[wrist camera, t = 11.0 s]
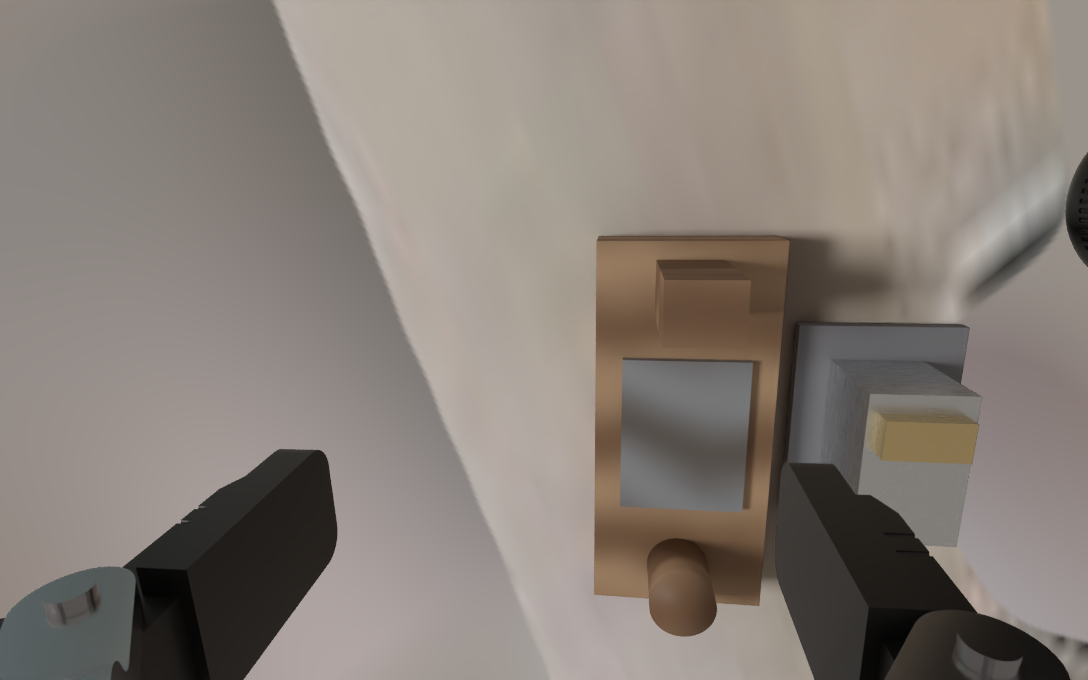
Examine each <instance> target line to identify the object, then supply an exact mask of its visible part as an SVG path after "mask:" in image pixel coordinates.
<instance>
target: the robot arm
mask: <svg viewBox="0 0 1088 680" xmlns="http://www.w3.org/2000/svg"><path fill="white" fill-rule="evenodd" d="M336 541H337V522H336V514H335V507H334V500H333V493H332V486H331V479H330V471H329V464H328V460H327V457H326V455H325V454H324V453H323V452H322V451H320V450H295V449H279V450H277V451H276V452H274V453H273V454H272V455H270V456H269V457H268V458H267V459H266V460H265V461H263V462H262V463H261V464H260V465H259V466H257V467H256V468H255V469H254V470H252V471H251V472H250V473H249V474H248V475H246V476H245V477H243V478H241V479H239V480H237V481H235V482H233V483H231V484H229V485H227V486H225V487H223V488H221V489H219V490H218V491H216V492H215V493H214V494H213V495H211V496H210V497H209V498H208V499H206V500H205V501H204V502H203V503H202V504H200V505H199V508H198V509H194V510H193V511H192V512H190V513H189V514H188V515H187V516H185V517H184V518H183V519H182V520H181V524H176V525H175V526H173V527H172V528H171V529H169V530H168V531H167V532H166V533H164V534H163V535H162V536H161V537H160V538H158V539H157V540H156V541H155V542H153V543H152V544H151V545H150V546H148V547H147V548H146V549H145V550H143V551H142V552H141V553H140V554H138V555H137V556H136V557H135V558H134V559H132V560H131V561H130V562H128V563H127V564H126V565H125V566H124V567H122V568H121V567H98V568H92V569H87V570H83V571H79V572H76V573H73V574H70V575H67V576H64V577H61V578H59V579H56V580H54V581H52V582H50V583H48V584H46V585H44V586H42V587H40V588H38V589H36V590H35V591H33V592H32V593H30V594H28V595H27V596H26V597H24V598H23V599H22V600H20V601H19V602H18V603H17V604H16V605H15V606H14V607H13V608H12V609H11V610H10V611H9V612H8V614H7V615H6V617H5V618H3V619H0V680H243V679H244V678H245V677H246V675H247V674H248V673H249V671H250V670H251V668H252V667H253V666H254V665H255V663H256V662H257V660H258V659H259V658H260V656H261V655H262V653H263V652H264V651H265V649H266V648H267V647H268V645H269V644H270V643H271V641H272V640H273V639H274V637H275V636H276V635H277V633H278V632H279V630H280V629H281V628H282V626H283V625H284V623H285V622H286V621H287V620H288V618H289V617H290V615H291V614H292V613H293V611H294V610H295V609H296V607H297V606H298V604H299V603H300V602H301V601H302V599H303V598H304V596H305V595H306V594H307V592H308V591H309V590H310V588H311V587H312V586H313V584H314V583H315V581H316V580H317V579H318V577H319V576H320V575H321V573H322V572H323V571H324V569H325V568H326V566H327V565H328V564H329V562H330V560H331V558H332V556H333V554H334V550H335V547H336ZM775 563H776V571H777V577H778V582H779V585H780V588H781V591H782V593H783V596H784V599H785V601H786V604H787V607H788V609H789V612H790V615H791V617H792V620H793V623H794V626H795V628H796V631H797V634H798V636H799V639H800V642H801V644H802V647H803V650H804V652H805V655H806V658H807V660H808V663H809V666H810V668H811V671H812V674H813V676H814V679H815V680H1070V677H1069V674H1068V672H1067V670H1066V668H1065V667H1064V665H1063V664H1062V662H1061V661H1060V660H1059V659H1058V658H1057V656H1056V655H1055V654H1054V653H1052V652H1051V651H1050V650H1049V649H1048V648H1047V647H1046V646H1045V645H1043V644H1042V643H1041V642H1039V641H1038V640H1037V639H1035V638H1034V637H1032V636H1030V635H1029V634H1027V633H1026V632H1024V631H1022V630H1020V629H1018V628H1016V627H1014V626H1012V625H1010V624H1008V623H1005V622H1003V621H1001V620H998V619H995V618H992V617H989V616H986V615H982V614H979V613H977V612H976V610H975V609H974V608H973V607H972V605H971V604H970V603H969V602H968V600H967V599H966V598H965V597H964V595H963V594H962V593H961V591H960V590H959V589H958V588H957V586H956V585H955V584H954V583H953V581H952V580H951V579H950V578H949V576H948V575H947V574H946V573H945V571H944V570H943V569H942V567H941V566H940V565H939V564H938V562H937V561H936V560H935V559H934V557H933V556H929V551H928V550H927V549H926V547H925V546H924V545H923V543H922V542H921V541H920V540H919V538H915V533H914V532H913V531H912V530H911V528H910V527H909V526H908V525H907V523H906V522H905V521H904V519H903V518H902V517H901V516H900V514H899V513H898V512H896V511H895V510H893V509H891V508H890V507H888V506H887V505H885V504H884V503H882V502H881V501H879V500H878V499H876V498H875V497H873V496H871V495H858V494H855V493H854V491H853V490H852V489H851V487H850V486H849V484H848V483H847V481H846V480H845V479H844V477H843V476H842V474H841V473H840V472H839V470H838V469H837V467H836V466H835V465H834V464H825V463H784V465H783V467H782V470H781V476H780V487H779V500H778V513H777V526H776V539H775Z"/></svg>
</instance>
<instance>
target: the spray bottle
mask: <svg viewBox="0 0 1088 680" xmlns="http://www.w3.org/2000/svg"><path fill="white" fill-rule="evenodd" d="M1066 225H1067V230H1068V234H1069V237H1070V240H1071V242H1072V245H1073V247H1074V249H1075V251H1076V252H1077V254H1078V256H1079V257H1080V259H1081V260H1082V261H1083V262H1084V264H1085V265H1086V266H1087V267H1088V152H1087V154H1086V155H1085V157H1084V158H1083V159H1082V161H1081V163H1080V165H1079V166H1078V168H1077V170H1076V172H1075V174H1074V176H1073V179H1072V181H1071V184H1070V187H1069V191H1068V195H1067V201H1066Z"/></svg>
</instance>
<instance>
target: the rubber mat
mask: <svg viewBox="0 0 1088 680" xmlns="http://www.w3.org/2000/svg"><path fill="white" fill-rule="evenodd" d="M969 329H970V328H969V327H967V326H964V325H961V324H887V323H812V322H796V329H795V340H794V351H793V363H792V374H791V385H790V396H789V408H788V419H787V430H786V441H785V453H784V463H820V454H821V444H822V435H823V425H824V416H825V406H826V396H827V387H828V377H829V368H830V359H837V360H886V361H924V362H925V363H927V364H929V365H930V366H932V367H934V368H935V369H937V370H939V371H940V372H942V373H943V374H945V375H947V376H948V377H950V378H952V379H953V380H955V381H957V382H958V383H960V384H961V379H962V373H963V367H964V366H963V365H964V360H965V354H966V348H967V342H968V335H969ZM783 465H784V464H783Z"/></svg>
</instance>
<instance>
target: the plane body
mask: <svg viewBox="0 0 1088 680" xmlns="http://www.w3.org/2000/svg"><path fill="white" fill-rule="evenodd" d="M789 243H790V241H789V240H786V239H784V238H781V237H778V236H599V237H598V239H597V271H596V412H595V553H594V595H606V596H621V597H636V598H649V607H650V614H651V616H652V618H653V620H654V622H655V623H656V624H657V625H658V626H659V627H660V628H661V629H662V630H664V631H665V632H667V633H670V634H672V635H676V636H693V635H697V634H699V633H701V632H703V631H705V630H706V629H707V628H709V627H710V625H711V624H712V623H713V621H714V619H715V617H716V613H717V605H716V603H724V604H738V605H753V606H759V602H760V590H761V578H762V566H763V554H764V542H765V530H766V518H767V506H768V495H769V483H770V471H771V459H772V447H773V435H774V423H775V411H776V399H777V387H778V375H779V363H780V351H781V339H782V327H783V315H784V303H785V291H786V279H787V267H788V255H789Z"/></svg>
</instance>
